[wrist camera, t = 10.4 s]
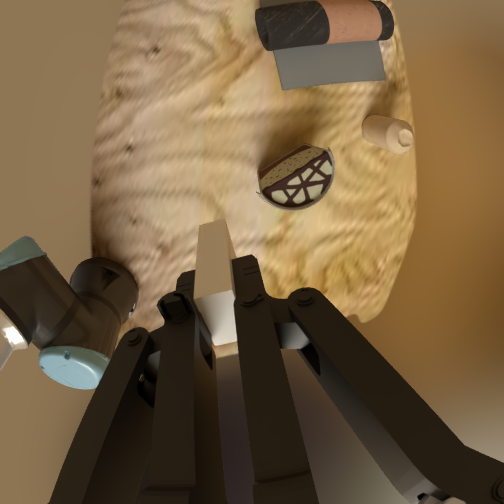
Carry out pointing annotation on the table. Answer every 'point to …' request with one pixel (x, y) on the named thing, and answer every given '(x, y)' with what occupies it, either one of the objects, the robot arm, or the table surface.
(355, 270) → the table surface
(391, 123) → the candle
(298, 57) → the mat
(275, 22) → the travel mug
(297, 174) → the food container
